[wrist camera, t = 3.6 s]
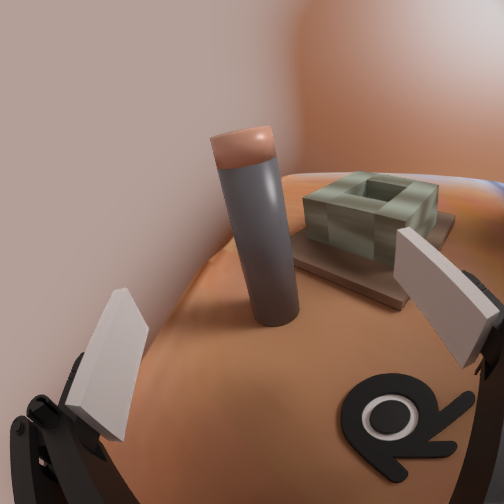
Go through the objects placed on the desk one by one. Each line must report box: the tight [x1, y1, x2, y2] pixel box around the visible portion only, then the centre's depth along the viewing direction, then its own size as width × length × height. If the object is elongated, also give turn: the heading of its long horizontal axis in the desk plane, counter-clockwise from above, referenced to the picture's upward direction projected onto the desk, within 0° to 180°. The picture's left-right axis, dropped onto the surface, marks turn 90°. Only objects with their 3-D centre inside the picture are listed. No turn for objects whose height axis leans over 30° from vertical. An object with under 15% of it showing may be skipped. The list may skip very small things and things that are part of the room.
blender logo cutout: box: [341, 373, 475, 483], centre depth 12 cm, size 9×8×1 cm
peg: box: [210, 126, 300, 327], centre depth 20 cm, size 4×4×15 cm
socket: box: [290, 171, 456, 311], centre depth 29 cm, size 20×16×6 cm
